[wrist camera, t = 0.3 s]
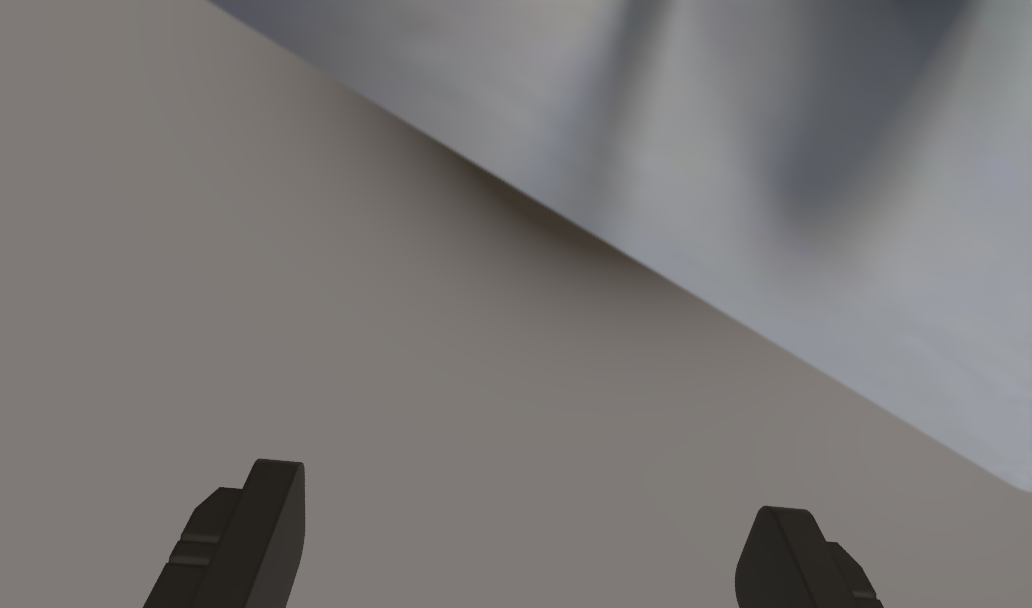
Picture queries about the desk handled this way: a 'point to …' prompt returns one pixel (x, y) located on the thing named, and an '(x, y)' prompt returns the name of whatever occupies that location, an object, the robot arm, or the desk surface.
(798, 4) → the desk surface
